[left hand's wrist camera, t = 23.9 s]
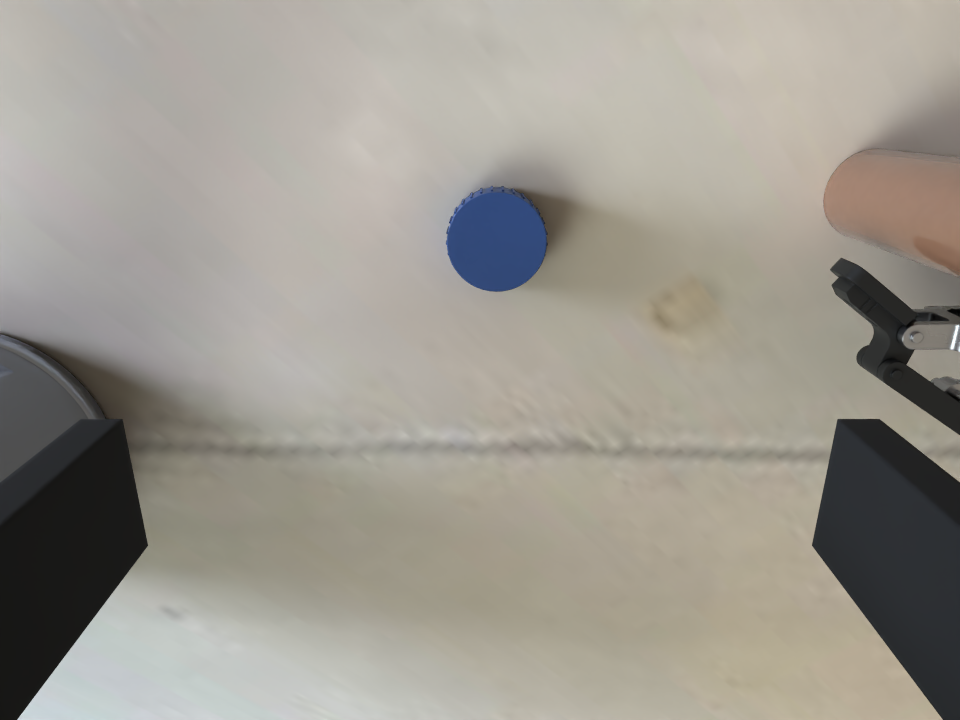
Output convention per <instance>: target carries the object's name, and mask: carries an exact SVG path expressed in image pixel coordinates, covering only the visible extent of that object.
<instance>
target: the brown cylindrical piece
mask: <svg viewBox="0 0 960 720" xmlns="http://www.w3.org/2000/svg"><path fill="white" fill-rule="evenodd" d="M824 210H825V214H826V217H827V219H828V221H829V223H830V224H831V226H832V227H833V228H834V229H835V230H836V231H838V232H839V233H841V234H843V235H844V236H847V237H850V238H853V239H855V240H858V241H861V242H863V243H866V244H869V245H872V246H874V247H877V248H880V249H882V250H885V251H888V252H891V253H893V254H896V255H899V256H901V257H904V258H907V259H910V260H912V261H915V262H918V263H920V264H923V265H926V266H928V267H931V268H934V269H937V270H939V271H942V272H945V273H947V274H950V275H953V276H956V277H958V278H960V158H959V157H950V156H941V155H933V154H924V153H915V152H906V151H897V150H888V149H869V150H864V151H861V152H859V153H857V154H855V155H853V156H851V157H849V158H848V159H847V160H845V161H844V162H843V163H842V164H841V165H840V166H839V167H838V168H837V169H836V170H835V171H834V173H833V174H832V176H831V177H830V179H829V181H828V184H827V186H826V189H825V194H824Z"/></svg>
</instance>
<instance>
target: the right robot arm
mask: <svg viewBox="0 0 960 720" xmlns="http://www.w3.org/2000/svg"><path fill="white" fill-rule="evenodd" d="M830 270H831V271H832V272H833V273H834V274H835V275H836V276H838V277H839V278H838V279H837V280H836V281H835V282H834V283H833V284H832V287H833V289H834V292H835V294H836V295H837V296H838V297H839V298H841V299H842V300H843V301H844V302H846V303H847V304H848V305H849V306H851V307H852V308H853V309H854V310H855V311H856V312H858V313H859V314H860V315H861V316H862V317H864V318H865V319H866V320H867V321H869V322H870V323H871V324H872V326H873V328H874V336H873V339H872V341H871V342H870V344H869V345H867V346H865V347H863V348H862V349H861V350H860V351H859V352H858V354H857V362H858V364H859V365H860V366H861V367H863V368H864V369H866V370H867V371H868V372H870V373H871V374H873V375H874V376H876V377H877V378H878V379H880V380H881V381H883V382H884V383H885V384H887V385H888V386H890V387H891V388H893V389H894V390H896V391H897V392H898V393H900V394H901V395H903V396H904V397H906V398H907V399H909V400H910V401H911V402H913V403H914V404H916V405H917V406H919V407H920V408H922V409H923V410H924V411H926V412H927V413H929V414H930V415H932V416H933V417H935V418H936V419H937V420H939V421H940V422H942V423H943V424H945V425H946V426H948V427H949V428H950V429H952V430H953V431H955V432H956V433H958V434H959V435H960V380H958V379H954V378H952V377H942V378H940V379H939V378H934V379H932V380H931V382H930V381H928V380H927V379H926V378H924V377H923V376H921V375H920V374H918V373H917V372H916V371H914V370H913V369H911V368H910V367H908V366H907V365H906V364H907V363H908V361H909V359H910V357H911V355H912V353H913V352H914V350H915V349H951V350H955V351H959V352H960V306H926V307H924V309H911V308H910V307H908V306H907V305H906V304H905V303H904V302H903V301H901V300H900V299H899V298H898V297H897V296H895V295H894V294H893V293H892V292H891V291H890V290H888V289H887V288H886V287H885V286H884V285H882V284H881V283H880V282H879V281H878V280H877V279H875V278H874V277H873V276H872V275H871V274H869V273H868V272H867V271H866V270H864V269H863V268H861V267H860V266H858V265H857V264H854V263H852V262H850V261H848V260H845V259H843V258H840V259H839V260H838V261H837V263H836V264H835V265H834V266H833V267H832V268H831V269H830Z"/></svg>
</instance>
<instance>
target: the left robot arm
mask: <svg viewBox="0 0 960 720" xmlns="http://www.w3.org/2000/svg"><path fill="white" fill-rule="evenodd" d="M147 546H148V543H147V538H146V533H145V529H144V524H143V519H142V514H141V509H140V504H139V499H138V494H137V489H136V484H135V479H134V474H133V469H132V464H131V460H130V455H129V450H128V445H127V440H126V435H125V430H124V425H123V420H122V419H106V418H105V416H104V414H103V413H102V411H101V409H100V407H99V406H98V404H97V403H96V402H95V400H94V399H93V397H92V396H91V395H90V393H89V392H88V391H87V390H86V388H85V387H84V386H83V385H82V384H81V383H80V382H79V381H78V380H77V379H76V378H75V377H74V376H73V375H72V374H71V373H70V372H69V371H68V370H66V369H65V368H64V367H63V366H61V365H60V364H59V363H57V362H56V361H55V360H54V359H52V358H50V357H49V356H47V355H46V354H44V353H43V352H41V351H39V350H37V349H35V348H34V347H32V346H30V345H28V344H26V343H23V342H21V341H19V340H16V339H14V338H11V337H8V336H5V335H2V334H0V720H17V719H18V718H19V716H20V715H21V714H22V712H23V711H24V710H25V708H26V707H27V706H28V704H29V703H30V702H31V700H32V699H33V698H34V696H35V695H36V694H37V692H38V691H39V690H40V688H41V687H42V686H43V684H44V683H45V682H46V680H47V679H48V678H49V676H50V675H51V674H52V672H53V671H54V670H55V668H56V667H57V666H58V664H59V663H60V662H61V660H62V659H63V658H64V656H65V655H66V654H67V653H68V651H69V650H70V649H71V647H72V646H73V645H74V643H75V642H76V641H77V639H78V638H79V637H80V635H81V634H82V633H83V631H84V630H85V629H86V627H87V626H88V625H89V623H90V622H91V621H92V619H93V618H94V617H95V615H96V614H97V613H98V611H99V610H100V609H101V607H102V606H103V605H104V603H105V602H106V601H107V599H108V598H109V597H110V595H111V594H112V593H113V591H114V590H115V589H116V587H117V586H118V585H119V583H120V582H121V581H122V579H123V578H124V577H125V575H126V574H127V573H128V571H129V570H130V569H131V567H132V566H133V565H134V563H135V562H136V561H137V559H138V558H139V557H140V555H141V554H142V553H143V551H144V550H145V549H146V547H147ZM812 546H813V547H814V549H815V550H816V551H817V553H818V554H819V555H820V557H821V558H822V559H823V561H824V562H825V563H826V565H827V566H828V567H829V569H830V570H831V571H832V573H833V574H834V575H835V577H836V578H837V579H838V581H839V582H840V583H841V585H842V586H843V587H844V589H845V590H846V591H847V593H848V594H849V595H850V597H851V598H852V599H853V601H854V602H855V603H856V605H857V606H858V607H859V609H860V610H861V611H862V613H863V614H864V615H865V617H866V618H867V619H868V621H869V622H870V623H871V625H872V626H873V627H874V629H875V630H876V631H877V633H878V634H879V635H880V637H881V638H882V639H883V641H884V642H885V643H886V645H887V646H888V647H889V649H890V650H891V651H892V653H893V654H894V655H895V656H896V658H897V659H898V660H899V662H900V663H901V664H902V666H903V667H904V668H905V670H906V671H907V672H908V674H909V675H910V676H911V678H912V679H913V680H914V682H915V683H916V684H917V686H918V687H919V688H920V690H921V691H922V692H923V694H924V695H925V696H926V698H927V699H928V700H929V702H930V703H931V704H932V706H933V707H934V708H935V710H936V711H937V712H938V714H939V715H940V716H941V718H942V719H943V720H960V482H958V481H957V480H956V479H955V478H953V477H952V476H951V475H950V474H948V473H947V472H946V471H945V470H943V469H942V468H941V467H939V466H938V465H937V464H936V463H934V462H933V461H932V460H931V459H929V458H928V457H927V456H925V455H924V454H923V453H922V452H920V451H919V450H918V449H917V448H915V447H914V446H913V445H912V444H910V443H909V442H908V441H906V440H905V439H904V438H903V437H901V436H900V435H899V434H898V433H896V432H895V431H894V430H893V429H891V428H890V427H889V426H887V425H886V424H885V423H884V422H882V421H881V420H880V419H838V420H837V425H836V430H835V435H834V440H833V445H832V450H831V455H830V460H829V464H828V469H827V474H826V479H825V484H824V489H823V494H822V499H821V504H820V509H819V514H818V519H817V524H816V529H815V533H814V538H813V543H812Z"/></svg>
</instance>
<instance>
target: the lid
mask: <svg viewBox="0 0 960 720" xmlns="http://www.w3.org/2000/svg"><path fill="white" fill-rule="evenodd" d="M449 223H450V226H448V229H447V233H446V234H448V235H447V241H446V245H447V249H448V255H449V258H450V260H451V263H452V265H453V267H454V268H455V270H456V271H457V273H458V274H459V275H460V276H461V277H462V278H463V279H464V280H465V281H466V282H468V283H470V284H471V285H473V286H475V287H477V288H480V289H482V290H487V291H495V292H498V291H507V290H511V289H514V288H516V287H518V286H521V285H522V284H524V283H525V282H527V281H528V280H529V279H530V278H531V277H532V276H533V275H534V274H535V273H536V272H537V270H538V269H539V267H540V266H541V264H542V262H543V259H544V256H545V252H546V246H547V237H546V235H547V231H546V229H545V227H544V224H545V222H544V220H543V218H542V217H540V212H539V210H538V208H535V206H534V205H533V202H532V200H531V199H530V200H528V199H527V198H526V197H525V196H524V194H523V193H521V194H520V193H518V192H516V191H514V189H513V188H512V190H511V189H508V188H504V186H502V187H493V186H491V188H486V189H482V188H480V190H479V191H477V192H475V193H471V194H470V196H469V197H467V198H466V199H465V200H464V199H463V200H462V203H461V204H460V205H459V207H456V208H455V212H454V215H453V217H452V216H451V219H450V222H449Z"/></svg>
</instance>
